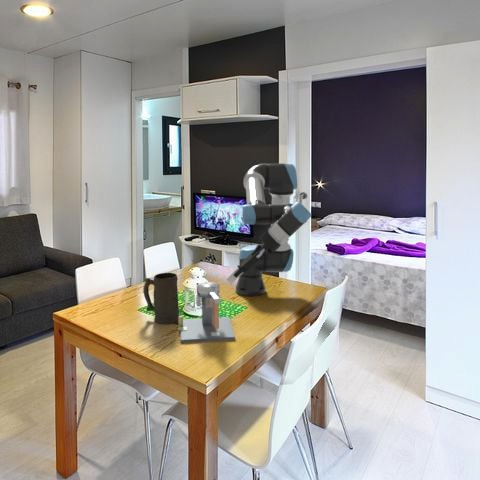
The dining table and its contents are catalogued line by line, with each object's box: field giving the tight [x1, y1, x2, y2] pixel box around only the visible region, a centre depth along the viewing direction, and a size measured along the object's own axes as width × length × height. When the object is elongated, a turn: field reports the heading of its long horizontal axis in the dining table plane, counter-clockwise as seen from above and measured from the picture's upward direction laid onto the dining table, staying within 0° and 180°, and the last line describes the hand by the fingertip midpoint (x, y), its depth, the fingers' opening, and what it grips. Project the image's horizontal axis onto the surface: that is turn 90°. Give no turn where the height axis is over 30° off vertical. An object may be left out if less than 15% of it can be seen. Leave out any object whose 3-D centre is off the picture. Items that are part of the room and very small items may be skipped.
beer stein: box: [143, 272, 180, 325], centre depth 172 cm, size 15×10×20 cm
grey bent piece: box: [195, 281, 221, 329], centre depth 160 cm, size 18×9×13 cm, turn 18°
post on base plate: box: [177, 298, 236, 344], centre depth 161 cm, size 21×20×13 cm
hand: (228, 281), depth 153 cm, fingers closed
